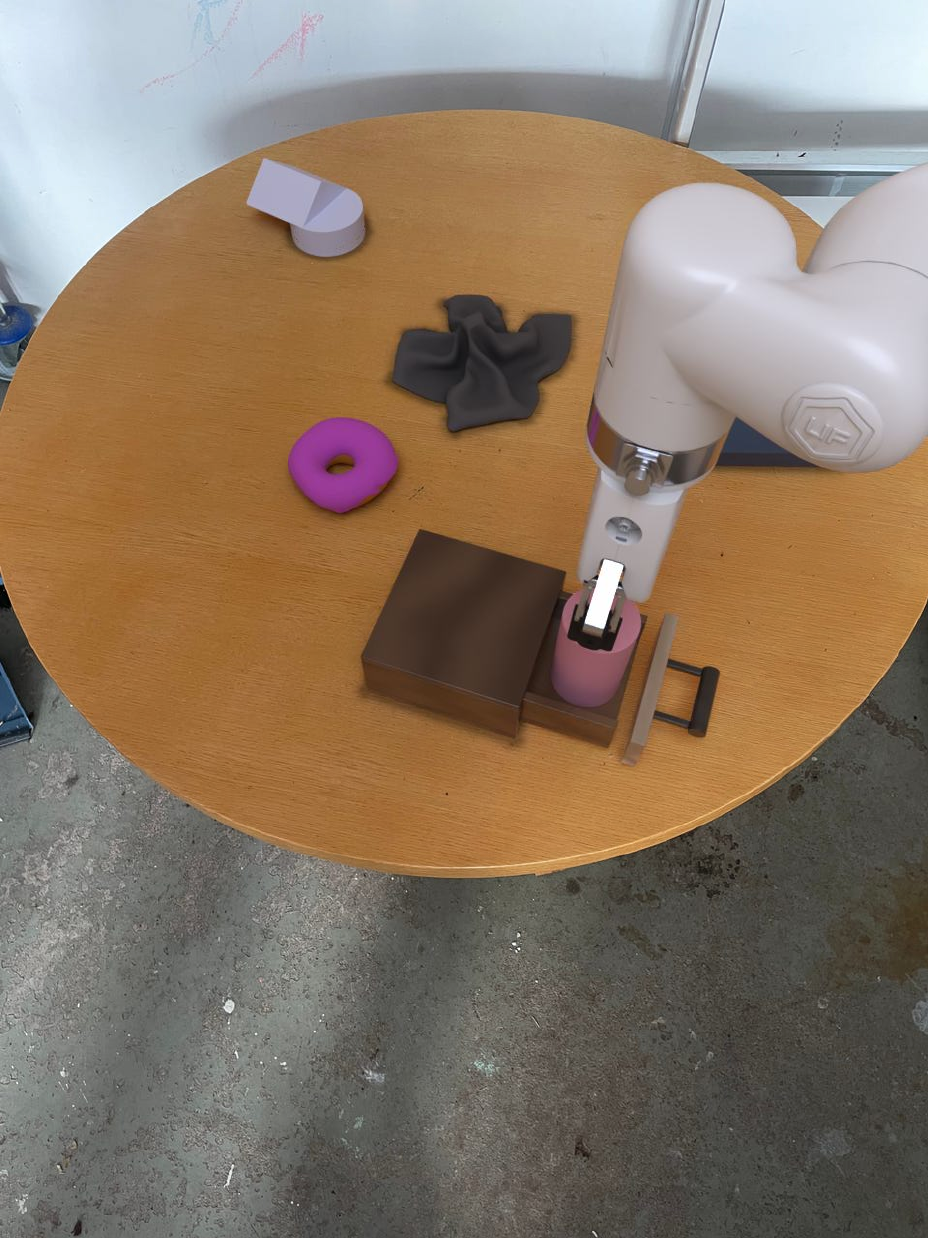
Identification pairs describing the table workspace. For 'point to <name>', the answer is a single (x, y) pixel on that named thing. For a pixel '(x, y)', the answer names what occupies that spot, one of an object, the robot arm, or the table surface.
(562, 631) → the cylinder
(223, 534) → the table surface
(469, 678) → the cabinet
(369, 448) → the donut
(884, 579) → the table surface
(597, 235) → the table surface
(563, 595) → the drawer
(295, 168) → the wedge on round base
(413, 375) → the cloth
